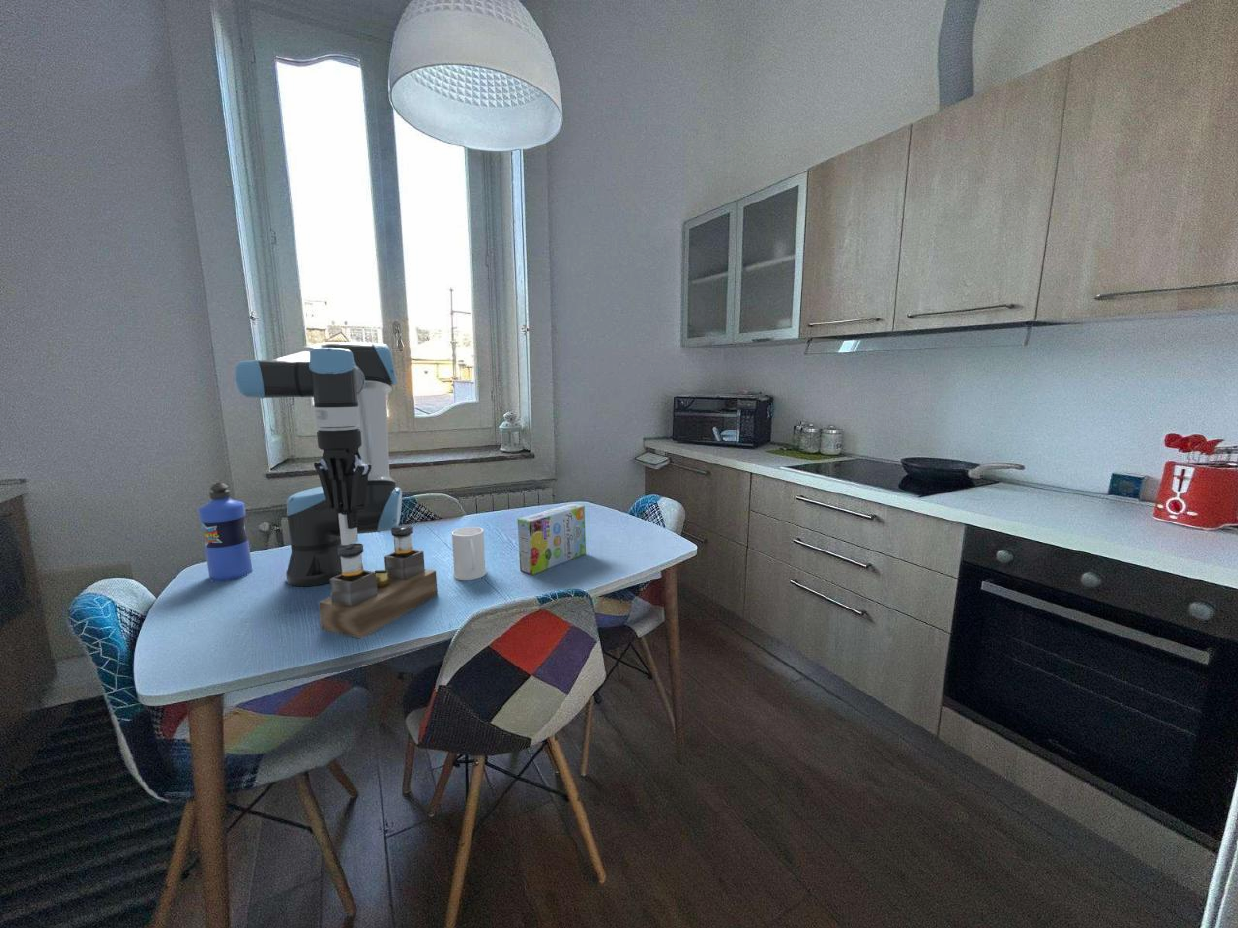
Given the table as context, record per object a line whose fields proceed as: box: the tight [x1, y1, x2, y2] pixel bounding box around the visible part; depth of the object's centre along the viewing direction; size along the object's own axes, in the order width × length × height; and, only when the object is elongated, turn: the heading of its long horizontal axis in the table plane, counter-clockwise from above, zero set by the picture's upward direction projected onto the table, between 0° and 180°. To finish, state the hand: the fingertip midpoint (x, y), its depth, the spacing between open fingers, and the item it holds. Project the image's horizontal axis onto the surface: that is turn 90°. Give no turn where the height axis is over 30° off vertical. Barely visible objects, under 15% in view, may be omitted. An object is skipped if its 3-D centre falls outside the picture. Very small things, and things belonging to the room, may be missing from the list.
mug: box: [451, 526, 487, 581], centre depth 127 cm, size 12×8×12 cm
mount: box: [318, 549, 439, 640], centre depth 108 cm, size 11×22×11 cm, turn 160°
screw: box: [374, 569, 389, 588], centre depth 108 cm, size 3×3×3 cm
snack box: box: [517, 503, 587, 576], centre depth 137 cm, size 21×6×15 cm, turn 141°
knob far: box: [390, 525, 414, 558], centre depth 113 cm, size 5×5×8 cm
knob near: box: [337, 542, 364, 582], centre depth 100 cm, size 5×5×8 cm
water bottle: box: [198, 482, 253, 582], centre depth 127 cm, size 9×9×25 cm
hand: (349, 542), depth 99 cm, fingers closed
